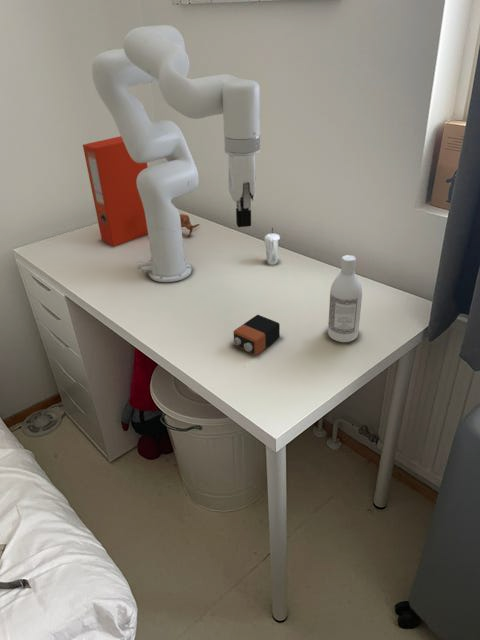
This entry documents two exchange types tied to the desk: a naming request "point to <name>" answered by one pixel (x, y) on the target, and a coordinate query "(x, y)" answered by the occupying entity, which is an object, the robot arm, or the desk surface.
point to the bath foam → (345, 303)
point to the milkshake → (272, 247)
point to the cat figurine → (187, 223)
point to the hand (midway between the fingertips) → (243, 225)
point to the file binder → (115, 190)
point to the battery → (256, 334)
